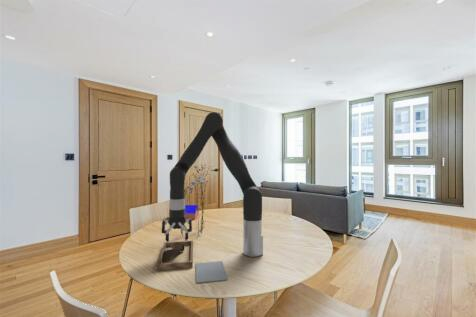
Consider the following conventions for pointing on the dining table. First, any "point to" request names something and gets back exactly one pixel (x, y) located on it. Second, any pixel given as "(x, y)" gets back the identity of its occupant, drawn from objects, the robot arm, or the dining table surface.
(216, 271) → the mat
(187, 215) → the house
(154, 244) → the dining table surface
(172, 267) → the wooden frame
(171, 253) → the hand tool
